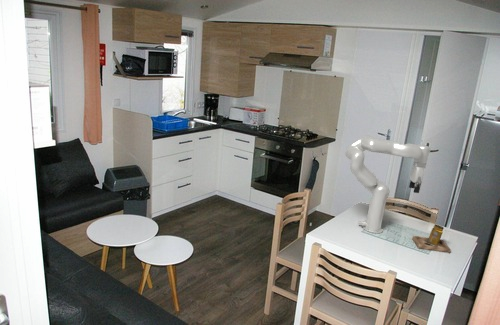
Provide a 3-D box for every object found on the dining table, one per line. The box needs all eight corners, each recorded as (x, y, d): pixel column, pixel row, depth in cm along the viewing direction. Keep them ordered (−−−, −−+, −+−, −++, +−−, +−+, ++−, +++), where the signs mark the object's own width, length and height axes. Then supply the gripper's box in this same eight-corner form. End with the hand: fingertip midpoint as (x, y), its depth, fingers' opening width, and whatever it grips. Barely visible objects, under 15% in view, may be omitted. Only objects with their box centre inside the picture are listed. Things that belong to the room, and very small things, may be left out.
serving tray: (418, 248, 233) (419, 244, 232) (412, 239, 245) (412, 235, 244) (449, 252, 231) (450, 249, 231) (441, 243, 244) (442, 239, 243)
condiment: (440, 246, 237) (447, 228, 236) (433, 245, 232) (440, 227, 231) (429, 241, 243) (436, 223, 241) (422, 240, 238) (429, 222, 236)
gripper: (409, 160, 255) (404, 185, 259) (417, 167, 238) (411, 193, 242) (421, 162, 254) (415, 187, 258) (430, 168, 237) (424, 195, 242)
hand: (413, 190), depth 250 cm, fingers open, 9 cm apart
